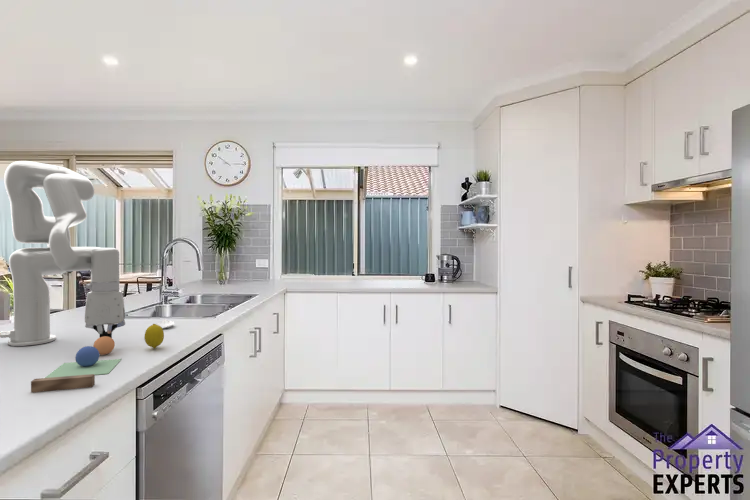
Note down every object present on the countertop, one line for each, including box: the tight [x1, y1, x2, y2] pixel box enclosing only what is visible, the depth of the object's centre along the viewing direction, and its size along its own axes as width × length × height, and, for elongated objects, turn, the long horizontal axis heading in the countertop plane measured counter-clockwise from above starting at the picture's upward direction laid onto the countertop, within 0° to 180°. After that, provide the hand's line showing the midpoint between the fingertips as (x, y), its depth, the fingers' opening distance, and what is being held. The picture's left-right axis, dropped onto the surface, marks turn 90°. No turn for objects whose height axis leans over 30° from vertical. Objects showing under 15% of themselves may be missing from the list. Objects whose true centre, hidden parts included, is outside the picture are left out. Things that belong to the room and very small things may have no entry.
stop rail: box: [30, 374, 96, 393], centre depth 100 cm, size 12×2×2 cm, turn 109°
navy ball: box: [74, 345, 100, 367], centre depth 118 cm, size 6×6×6 cm
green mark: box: [44, 358, 122, 378], centre depth 116 cm, size 14×14×1 cm
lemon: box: [144, 323, 165, 349], centre depth 137 cm, size 6×6×8 cm
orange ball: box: [92, 336, 116, 356], centre depth 130 cm, size 6×6×6 cm
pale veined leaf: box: [155, 318, 175, 330], centre depth 170 cm, size 8×12×2 cm, turn 21°
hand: (105, 345), depth 134 cm, fingers closed
